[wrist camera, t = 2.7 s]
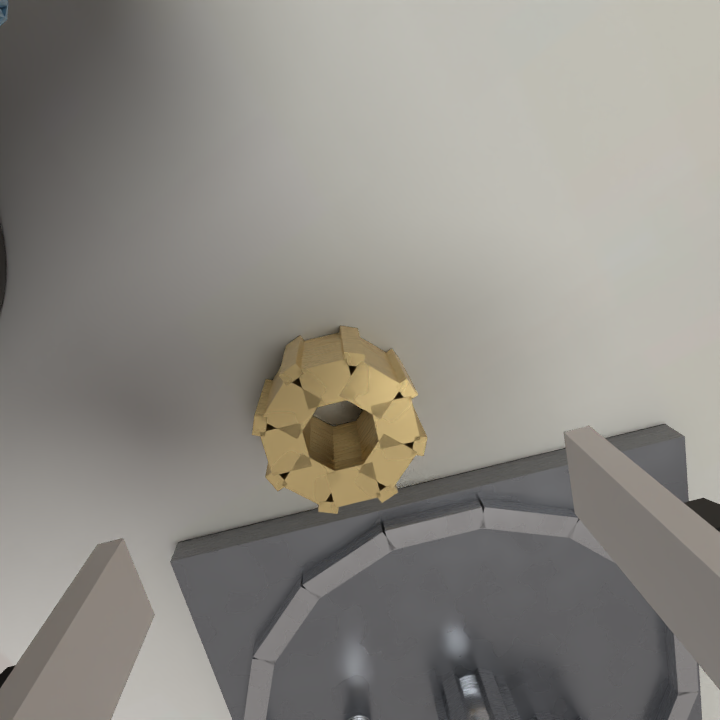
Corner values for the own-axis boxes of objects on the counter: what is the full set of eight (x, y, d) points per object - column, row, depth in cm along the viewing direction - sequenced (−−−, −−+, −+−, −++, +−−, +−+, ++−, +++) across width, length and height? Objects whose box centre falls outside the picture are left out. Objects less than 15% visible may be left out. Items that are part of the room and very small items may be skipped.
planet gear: (287, 474, 26) (281, 527, 22) (249, 347, 25) (234, 378, 20) (419, 442, 26) (438, 489, 22) (390, 313, 25) (405, 336, 20)
